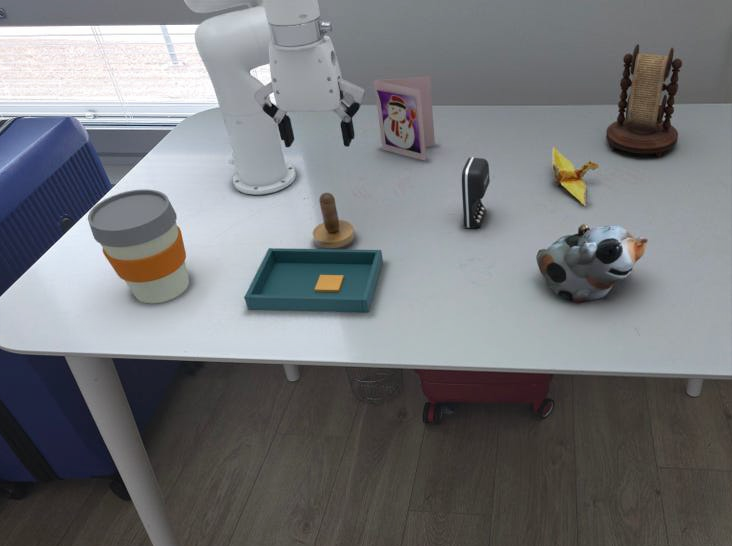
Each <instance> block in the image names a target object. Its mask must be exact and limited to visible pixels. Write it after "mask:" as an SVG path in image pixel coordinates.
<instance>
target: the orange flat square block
mask: <svg viewBox="0 0 732 546" xmlns="http://www.w3.org/2000/svg"><path fill="white" fill-rule="evenodd" d="M343 280H344V275H320V277H319V279H318V282H317V284H316V287H315V292H329V293H339V291H340V288H341V286H342V283H343Z"/></svg>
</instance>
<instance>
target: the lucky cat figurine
mask: <svg viewBox="0 0 732 546" xmlns="http://www.w3.org/2000/svg"><path fill="white" fill-rule="evenodd" d="M648 241H649V239H648V238H646V237H641V236H638V237H637V238H635V237H634V236H633V235H632V234H631V232H629V231H628V230H626V229H625V228H623V227H622V226H617V225H605V226H596V227H592V228H591V229H590V226H589V225H588V224H586V223H583V224H581V225H580V226H578V229H577V233H574V234H573V233H572V234H566V235H563V236H560V237H559V238H558V239H556V240H555V242H553V243H552V244H551V245H550V246H548V247H547V248H541V249H539V250H538V251H537V253H536V256H535V257H536V264H537V267H538V269H539V271H540V273H541V275H542V277H543V279H544V281H545V282H546V284H547V285H548V286H549V288H551V290H552V291H553V292H554V293H555V294H556V295H558V296H566V298H567V299H568V300H569V301H572V302H574V303H578V302H579V303H580V302H585V301H592V300H593V301H594V300H598V299H599V300H600V299H602V298H605V297H606V296H607V295H608V293H609V292H610V290H611V289H612V288H613V286H614V285H615V283H618V282H620V281H621V282H622V281H623V280H624V279H625V278H627V277H628V276H629V275H631V273H632V271H633V269H634V267H635V266H636V263H637V261H639V260H640V259H641V258H642V257H643V256H644V254H645V250H646V248H647V245H648Z"/></svg>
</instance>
